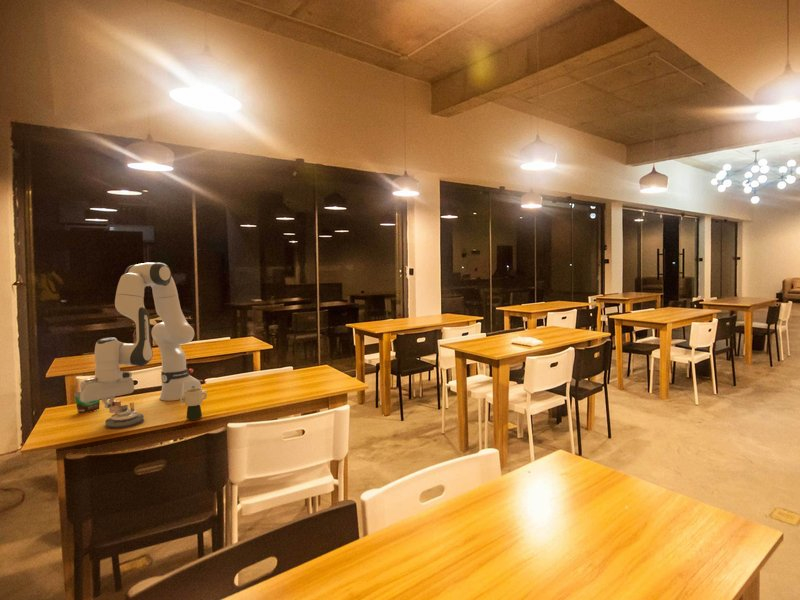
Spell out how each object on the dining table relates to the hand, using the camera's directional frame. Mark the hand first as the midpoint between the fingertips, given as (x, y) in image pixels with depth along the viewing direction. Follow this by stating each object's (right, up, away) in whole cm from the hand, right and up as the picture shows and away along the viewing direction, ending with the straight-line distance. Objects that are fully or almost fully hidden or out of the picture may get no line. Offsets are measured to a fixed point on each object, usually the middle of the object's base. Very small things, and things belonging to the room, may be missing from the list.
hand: (108, 407), depth 189 cm
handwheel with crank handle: (+7, -7, 0) cm, 10 cm away
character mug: (+35, -6, +4) cm, 36 cm away
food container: (-19, -6, +18) cm, 27 cm away
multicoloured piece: (+5, -4, 0) cm, 7 cm away
